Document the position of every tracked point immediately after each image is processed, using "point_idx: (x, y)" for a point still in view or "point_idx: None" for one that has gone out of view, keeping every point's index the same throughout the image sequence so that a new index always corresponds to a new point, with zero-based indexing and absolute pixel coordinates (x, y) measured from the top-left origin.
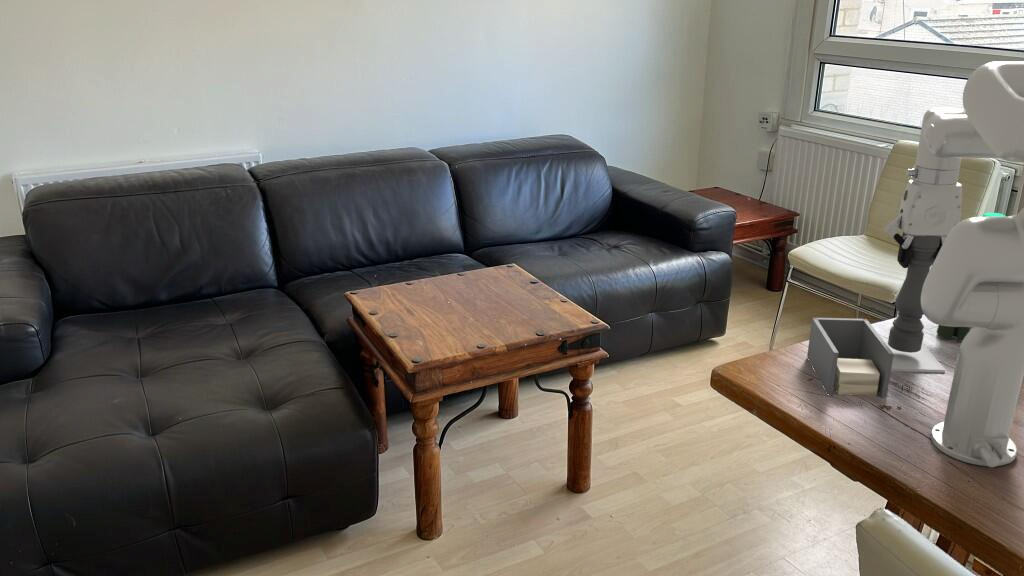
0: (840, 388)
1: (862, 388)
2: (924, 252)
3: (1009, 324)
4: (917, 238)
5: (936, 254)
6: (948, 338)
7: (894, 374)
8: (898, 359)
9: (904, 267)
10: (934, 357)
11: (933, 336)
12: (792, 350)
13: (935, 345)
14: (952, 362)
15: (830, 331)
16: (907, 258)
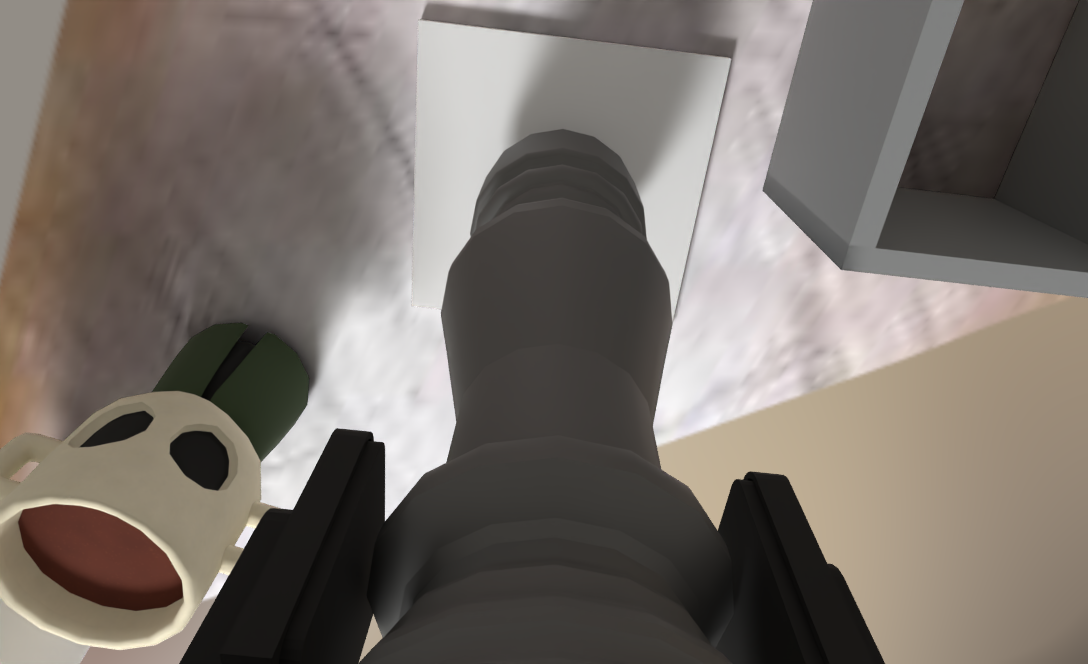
0: None
1: None
2: (618, 610)
3: None
4: None
5: (338, 626)
6: (278, 342)
7: (685, 13)
8: None
9: (784, 476)
10: (415, 165)
11: (326, 387)
12: (1018, 294)
13: (350, 307)
14: (338, 134)
15: (1020, 241)
16: (807, 570)
